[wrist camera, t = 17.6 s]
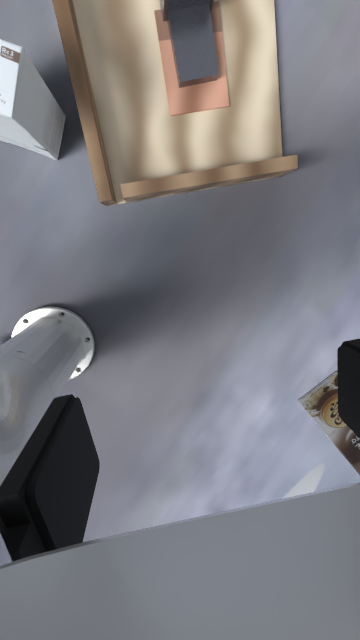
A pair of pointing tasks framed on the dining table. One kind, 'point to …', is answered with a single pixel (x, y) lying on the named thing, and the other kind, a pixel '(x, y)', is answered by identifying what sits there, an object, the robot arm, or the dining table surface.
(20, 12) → the dining table surface
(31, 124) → the skincare box
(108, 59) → the corner arena
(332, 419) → the coffee box
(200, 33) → the gray t-shaped block
